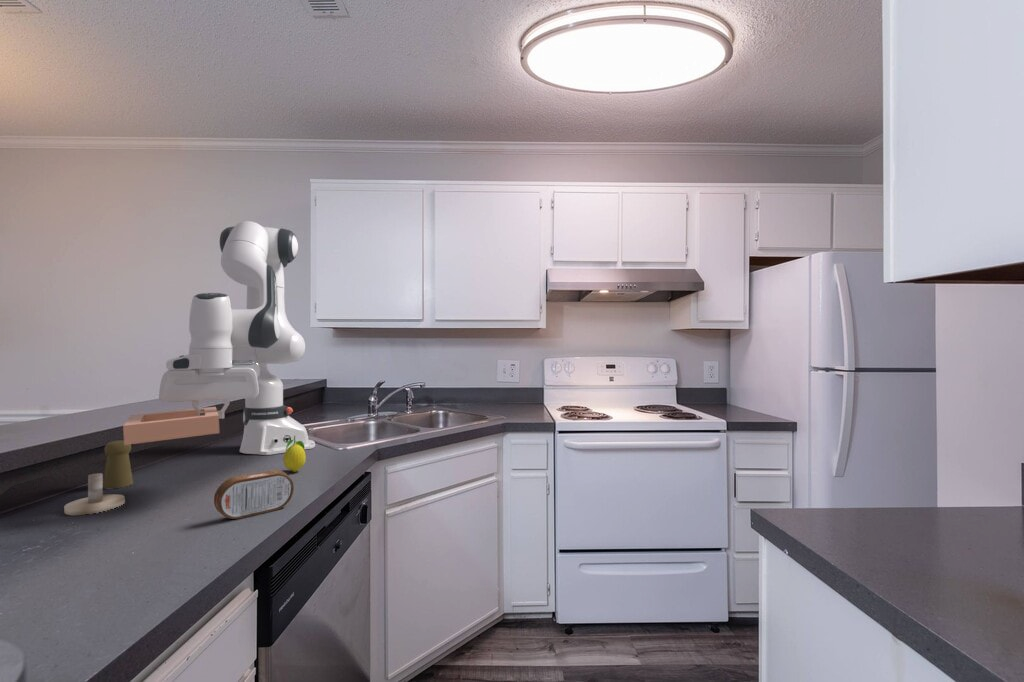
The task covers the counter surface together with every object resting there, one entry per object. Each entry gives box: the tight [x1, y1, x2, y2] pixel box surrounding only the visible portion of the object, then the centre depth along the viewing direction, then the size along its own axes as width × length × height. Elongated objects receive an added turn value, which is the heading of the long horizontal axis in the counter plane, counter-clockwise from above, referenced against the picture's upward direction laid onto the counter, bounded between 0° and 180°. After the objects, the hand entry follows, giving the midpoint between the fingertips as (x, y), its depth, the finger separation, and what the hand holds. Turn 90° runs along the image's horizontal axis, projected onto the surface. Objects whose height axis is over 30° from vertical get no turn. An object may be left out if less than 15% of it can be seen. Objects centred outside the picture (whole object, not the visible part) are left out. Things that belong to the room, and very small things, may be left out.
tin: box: [213, 469, 295, 520], centre depth 104 cm, size 15×3×8 cm, turn 134°
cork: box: [103, 439, 134, 489], centre depth 123 cm, size 6×6×11 cm
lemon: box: [283, 435, 307, 473], centre depth 136 cm, size 7×6×10 cm
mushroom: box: [63, 472, 126, 516], centre depth 107 cm, size 10×10×7 cm
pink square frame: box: [122, 406, 221, 445], centre depth 115 cm, size 17×17×4 cm
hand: (210, 419), depth 119 cm, fingers closed on pink square frame, 3 cm apart
